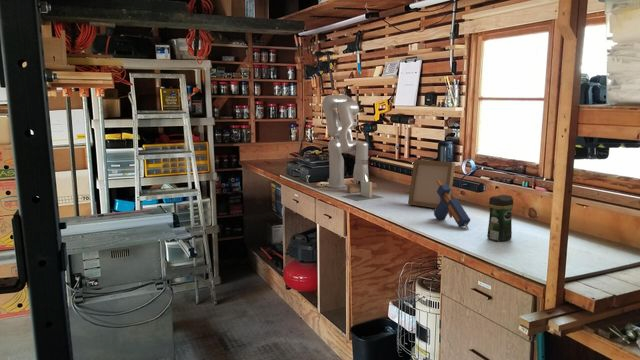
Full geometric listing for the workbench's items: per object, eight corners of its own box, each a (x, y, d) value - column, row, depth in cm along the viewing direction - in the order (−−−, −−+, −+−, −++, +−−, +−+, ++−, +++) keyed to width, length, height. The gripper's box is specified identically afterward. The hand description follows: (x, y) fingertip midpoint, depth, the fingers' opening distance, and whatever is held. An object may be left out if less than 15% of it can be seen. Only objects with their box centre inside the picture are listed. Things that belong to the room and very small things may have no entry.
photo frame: (445, 211, 255) (448, 163, 252) (407, 205, 268) (409, 160, 265) (456, 206, 267) (459, 160, 263) (419, 201, 280) (421, 158, 276)
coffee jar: (498, 235, 211) (501, 192, 208) (514, 239, 204) (517, 195, 201) (483, 238, 206) (485, 194, 203) (499, 243, 199) (502, 198, 196)
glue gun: (454, 248, 227) (468, 227, 217) (421, 199, 246) (432, 178, 235) (464, 245, 229) (478, 225, 219) (430, 198, 248) (442, 177, 238)
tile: (360, 195, 294) (360, 180, 293) (362, 194, 295) (362, 180, 294) (369, 197, 287) (370, 182, 286) (371, 197, 288) (372, 182, 286)
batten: (347, 193, 302) (347, 185, 301) (373, 190, 313) (373, 182, 312) (350, 194, 300) (350, 186, 299) (376, 191, 310) (376, 183, 309)
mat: (340, 197, 291) (340, 196, 291) (367, 193, 302) (367, 192, 301) (356, 202, 278) (356, 201, 278) (384, 198, 288) (384, 197, 288)
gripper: (348, 160, 307) (348, 189, 310) (364, 164, 294) (363, 194, 297) (358, 160, 311) (357, 188, 314) (374, 163, 297) (373, 193, 301)
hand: (360, 191), depth 306 cm, fingers closed on batten, 2 cm apart
